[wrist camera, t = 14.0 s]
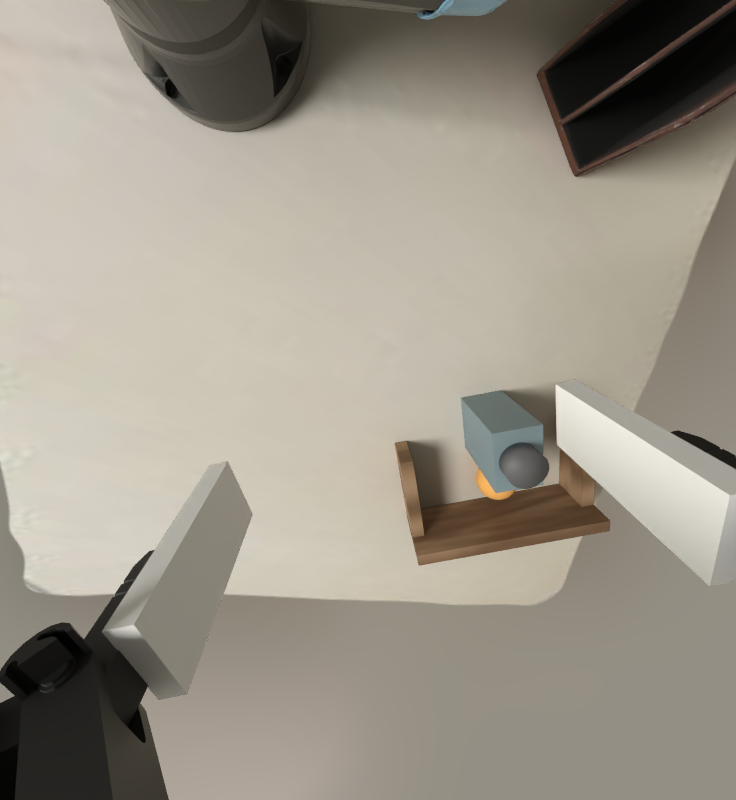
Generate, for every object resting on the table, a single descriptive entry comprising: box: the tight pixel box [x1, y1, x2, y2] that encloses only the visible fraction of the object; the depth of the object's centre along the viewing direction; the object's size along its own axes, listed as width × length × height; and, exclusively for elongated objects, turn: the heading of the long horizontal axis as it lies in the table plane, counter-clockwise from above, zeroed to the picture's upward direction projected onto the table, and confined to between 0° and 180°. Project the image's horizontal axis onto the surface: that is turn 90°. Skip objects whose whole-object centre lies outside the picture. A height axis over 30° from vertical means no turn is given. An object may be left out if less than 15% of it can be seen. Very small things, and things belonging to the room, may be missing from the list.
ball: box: [476, 469, 515, 500], centre depth 45 cm, size 5×5×5 cm
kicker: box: [461, 390, 549, 493], centre depth 39 cm, size 7×5×12 cm
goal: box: [395, 441, 610, 565], centre depth 43 cm, size 12×23×8 cm, turn 100°
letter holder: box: [537, 0, 736, 177], centre depth 26 cm, size 10×20×14 cm, turn 123°
